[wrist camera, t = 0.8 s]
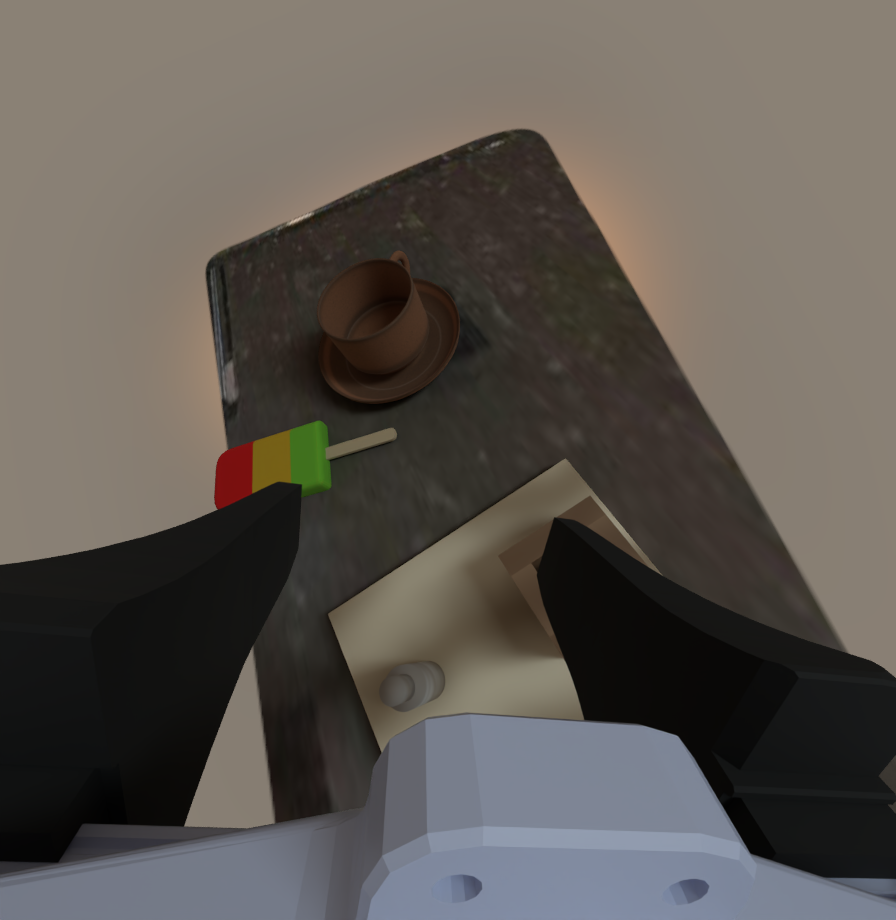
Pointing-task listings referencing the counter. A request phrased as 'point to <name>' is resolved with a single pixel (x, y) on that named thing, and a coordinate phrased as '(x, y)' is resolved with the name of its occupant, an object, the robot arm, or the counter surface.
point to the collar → (529, 551)
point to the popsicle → (286, 461)
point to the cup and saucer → (384, 331)
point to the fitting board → (463, 623)
